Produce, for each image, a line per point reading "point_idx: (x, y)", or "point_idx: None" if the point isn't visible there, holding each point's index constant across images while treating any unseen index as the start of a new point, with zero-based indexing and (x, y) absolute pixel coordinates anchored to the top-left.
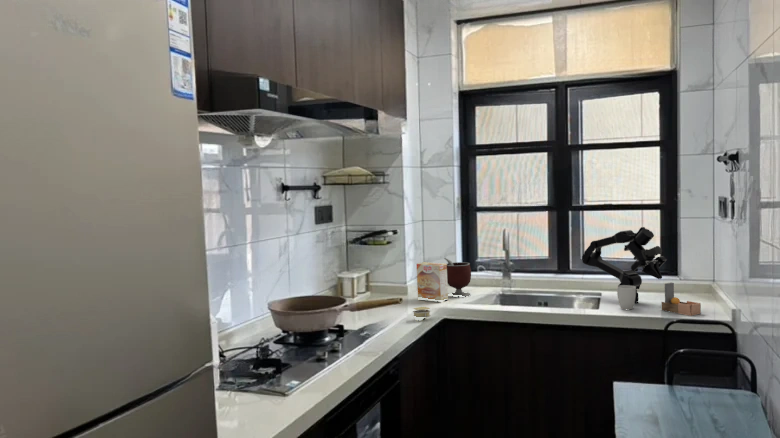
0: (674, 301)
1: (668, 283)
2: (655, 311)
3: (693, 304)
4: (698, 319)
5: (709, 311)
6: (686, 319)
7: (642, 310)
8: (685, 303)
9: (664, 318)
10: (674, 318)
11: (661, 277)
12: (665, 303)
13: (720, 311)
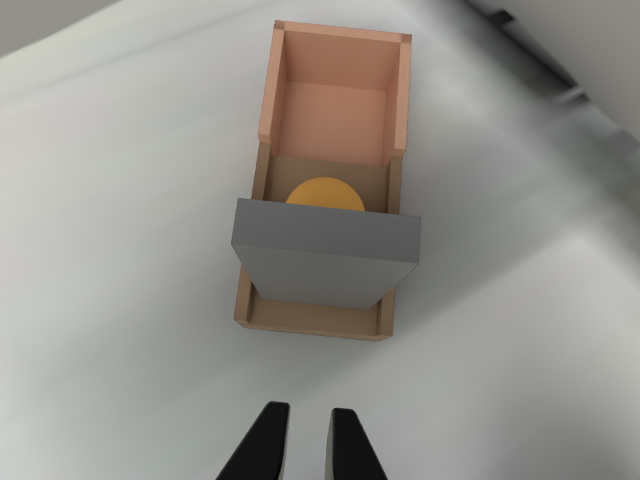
0: (362, 206)
1: (355, 228)
2: (455, 356)
3: (369, 34)
4: (456, 17)
5: (171, 66)
6: (514, 65)
7: (505, 468)
8: (268, 159)
9: (606, 177)
10: (551, 130)
11: (289, 410)
12: (394, 289)
13: (124, 18)
